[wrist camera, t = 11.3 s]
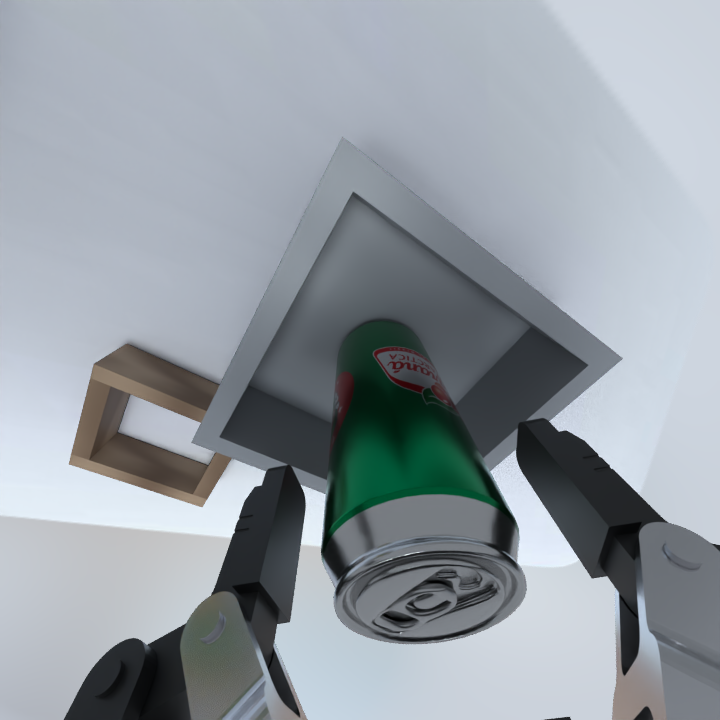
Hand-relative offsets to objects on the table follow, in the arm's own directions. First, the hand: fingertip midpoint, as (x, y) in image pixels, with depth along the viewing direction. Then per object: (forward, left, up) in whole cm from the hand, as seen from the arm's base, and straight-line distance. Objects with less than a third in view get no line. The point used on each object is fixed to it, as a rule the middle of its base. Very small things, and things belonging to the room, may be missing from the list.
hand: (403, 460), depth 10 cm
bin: (0, 0, -9) cm, 9 cm away
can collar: (-9, -12, -9) cm, 17 cm away
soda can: (0, 0, -8) cm, 8 cm away
